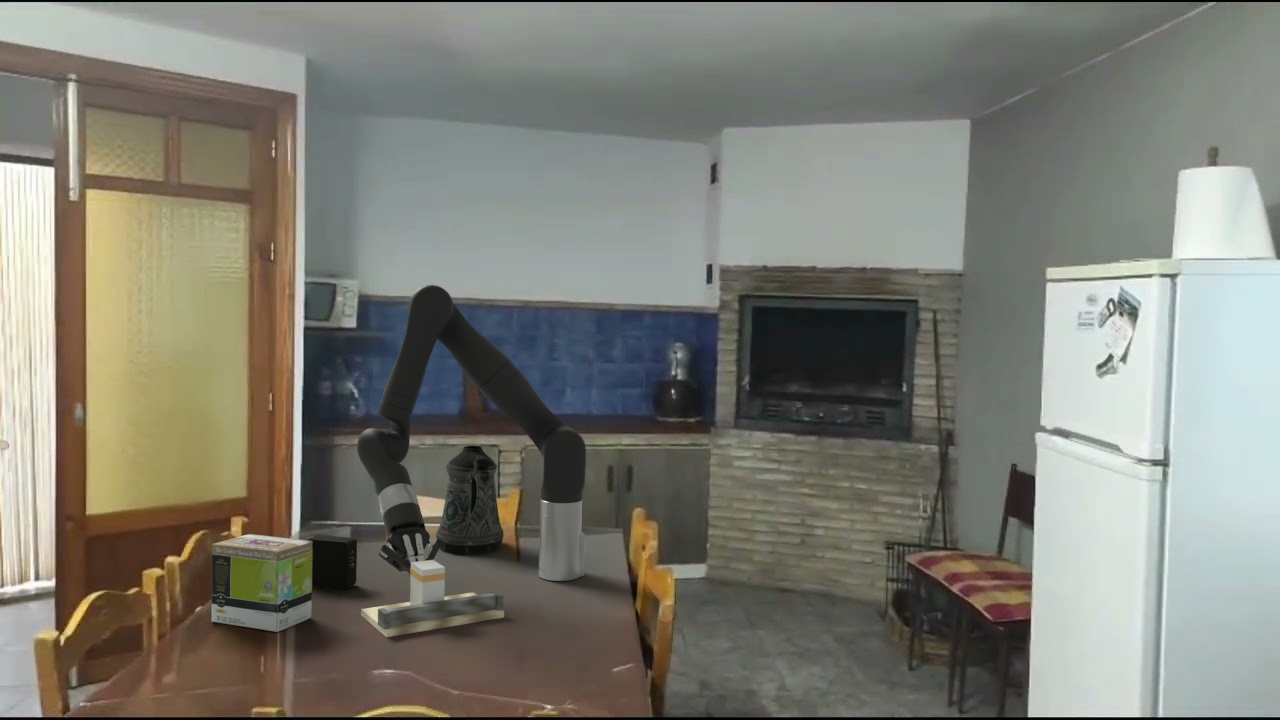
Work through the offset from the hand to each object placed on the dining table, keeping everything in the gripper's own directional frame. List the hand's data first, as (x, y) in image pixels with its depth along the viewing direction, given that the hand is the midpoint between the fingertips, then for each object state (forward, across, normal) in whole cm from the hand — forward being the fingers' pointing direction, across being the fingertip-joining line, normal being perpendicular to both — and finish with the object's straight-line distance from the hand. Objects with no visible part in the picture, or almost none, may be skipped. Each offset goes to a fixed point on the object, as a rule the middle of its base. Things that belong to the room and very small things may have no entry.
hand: (421, 586), depth 180 cm
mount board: (+6, +1, +1) cm, 6 cm away
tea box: (-3, -27, +11) cm, 29 cm away
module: (+5, 0, 0) cm, 5 cm away
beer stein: (-26, +30, +34) cm, 52 cm away
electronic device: (-14, -10, +22) cm, 28 cm away
